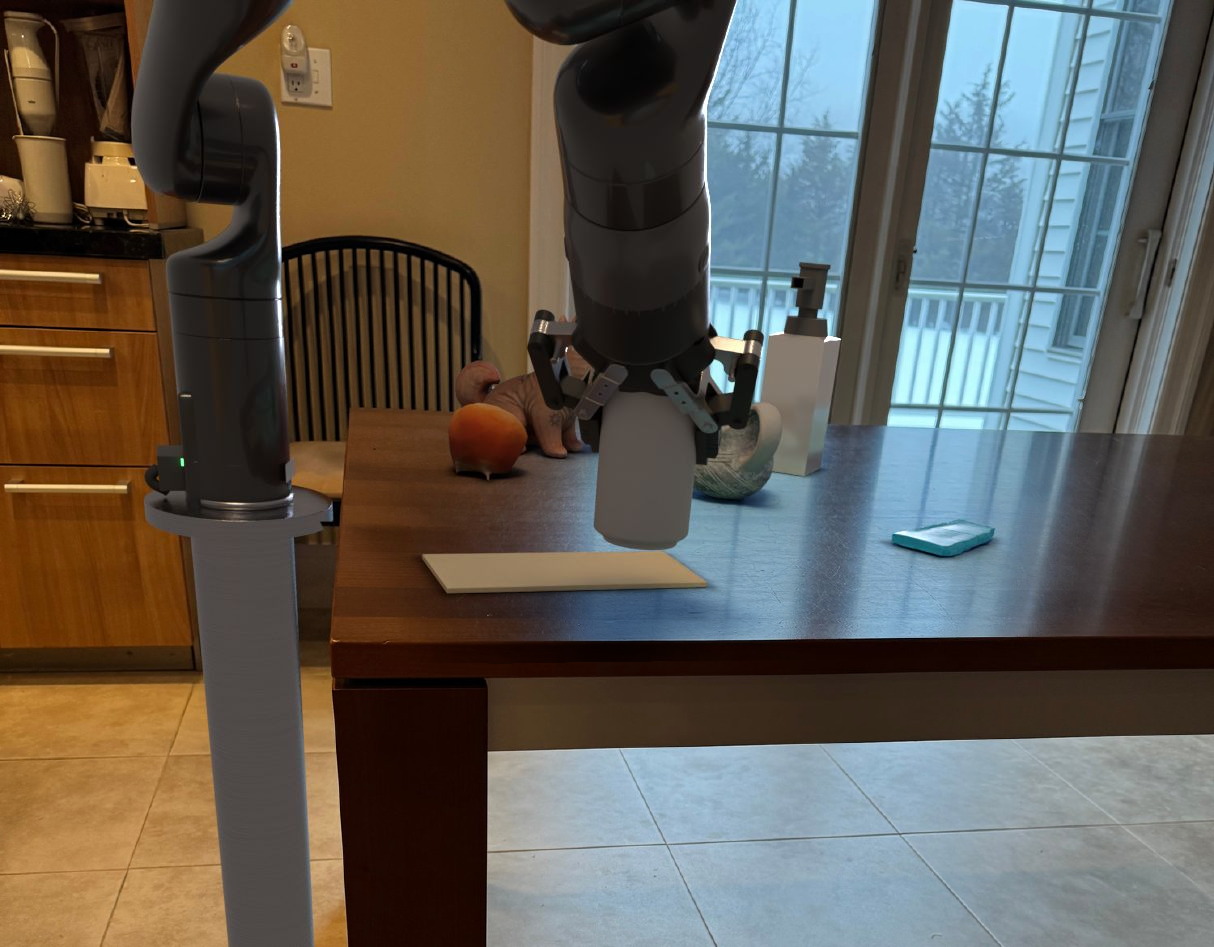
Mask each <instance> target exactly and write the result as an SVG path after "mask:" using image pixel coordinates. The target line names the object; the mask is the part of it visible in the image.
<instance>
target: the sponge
mask: <svg viewBox="0 0 1214 947" xmlns="http://www.w3.org/2000/svg"><path fill="white" fill-rule="evenodd" d="M995 531H996V528H995V527H992V526H988V525H984V524H980V523H976V522H972V521H968V520H965V519H955V520H951V521H949V522H941V523H936V524H935V523H934V524H932V525H927V526H923V527H916V528H911V529H907V530H904V531H903V530H901V531H897V532H894V533H892V534H891V543H893V544H897V545H899V546H902V547H906V548H910V549H913V550H918V551H922V552H926V553H930V554H934V555H937V556H941V557H943V556H945V557H952V556H957V555H961V554H962V553H963V552H965V551H969V550H971V548H974V547H977V546H980V545H983V544H987V543H988V542H989V541H991V540H992V538H993V537H994V535H995Z"/></svg>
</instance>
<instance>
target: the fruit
mask: <svg viewBox="0 0 1214 947" xmlns="http://www.w3.org/2000/svg"><path fill="white" fill-rule="evenodd" d="M447 432H448V444H449V452H450V456H451V460H452V465H453V466H454V468H455V471H456V472H455V474H457V473H459V472H472V473H473V472H474V473H481V474H483V475H485V476H486V480H487V481H488V482H489V481H490V475H492V474H493V475H506V474H508V473H509V472H511V470H512V468H513V467H514V465H516V462H517V461H518V459H519V457H520V456H521V454H522V453H521V452H522V451H523V449H524V446H525V447H526V444H527V443H526V441H527V438H528V436H527V433H526V430H525V428H524V427H523V426H522V423H521V422H520V421H519V420H518V419H517V418H516V417H515V416H514V415H513V414H511V413H509V412H507V411H505V410H503V409H501V408H500V407H497V406H493V405H489V404H485V403H476V404H469V405H466V406H464V407H460V408H458V409H456V410H455V411H454V412H453V414H452V416H451V418H450V422H449V426H448V431H447Z"/></svg>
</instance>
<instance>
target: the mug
mask: <svg viewBox="0 0 1214 947" xmlns="http://www.w3.org/2000/svg"><path fill="white" fill-rule="evenodd" d="M781 434H782V419H781V414H780V412H779V410H778V409H777V408H776V407H775V406H773V405H771V404H769V403H760V402H756V403H753V404H751V408H750V413H749V417H748V422H747V426H746V427H745V428H744V429H740V430H736V429H733V428H731V427H730V426H729V425H724V426H722V435H721V442H720V447H719V452H718V455H717V457H716V458H715V459H712V458H708V462H707V466H706V465H698V464H696V466H695V475H694V484H693V490H695V491H697V492H699V493H702V494H705V495H707V496H710V497H713V498H718V499H727V500H728V499H729V500H745V499H746V498H749V497H752V496H754V495H755V494H757V493H758V492H760V491H761V490H762V489H763V488H764V487H765V485H767V483H768V481H769V480H770V479H771V476H772V474H773V471H772V469H773V463H774V459H773V458H774V457H773V455H774V454H775V452H776V450H777V447H778V445H779V442H780V439H781Z"/></svg>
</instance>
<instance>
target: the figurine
mask: <svg viewBox="0 0 1214 947" xmlns="http://www.w3.org/2000/svg"><path fill="white" fill-rule="evenodd" d="M575 320H576V314H575V315H574V316H573V319H572V320H571V322H575ZM558 322H569V321H568V319H567V317H566V315H565V314H562V315H560V317H559V319H558ZM566 358H567V361H568V365H569V368H570V371H571V376H572V377H575V378H578V379H582V377H583V376H584V374H585V373H586V371H587V370H588V368H589V367H590V365H589V364H588V363H587V362H586V361H585V360H584V359H583V358H582V357H581V356H580V355H579V354H578V353H577V352H576V351H575V349H574V348H573V346H569V347H568V348H567V352H566ZM454 385H455V386H454V392H455V397H456V399H457V402H458V403H459V405H460V406H461V408H463V407H464V406H466V405H469V404H476V403H485V404H489V405H493V406H497V407H500V408H501V409H503V410H505V411H507V412H509V413H511V414H513V415H514V416H515V417H516V418H517V419H518V420H519V421H520V422H521V423H522V426H523V427H524V428H525V430H526V433H527V436H528V438H527V441H526V444H528V445H532V446H533V445H534V446H536V445H537V446H539V447H541V449H542V451H543V452H544V454H545V455H546V456H549V457H551V458H560V459H561V458H562V459H563V458H566V457H567V455H568V451H571V452H580V451H581V450H582V449H583V444H582V443H583V442H581V441H580V440H579V439H578V436H577V434H576V433H577V432H576V420H577V417H576V416H575V414H574V410H572V409H570V408H568V407H565V406H564V407H563V408H562V409H561V410H552V409H550V408H548V407H547V406H546V404H545V402H544V399H543V396H542V393H541V390H540V387H539V384H538V381H537V377H536V374H535V371H534V370H533V371H532V372H529V373H525V374H521V375H516V376H514V377H511V378H508V379H506V380H504V381H502V382H501V374H500V371H499V370H498V368H497V367H496V366H495V365H493V364H492V363H491V362H488V361H486V360H474V361H472V362H469V363H468V364H467V365H465V366H464V367H463V368H462V369H461V370H460V372H459V373H458V374H457V377H456V380H455V384H454ZM493 386H494V387H493ZM492 387H493V388H492ZM526 450H527V447H526V445H525V446H524V449H523V451H522V452H521V454H524V453H526Z"/></svg>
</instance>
